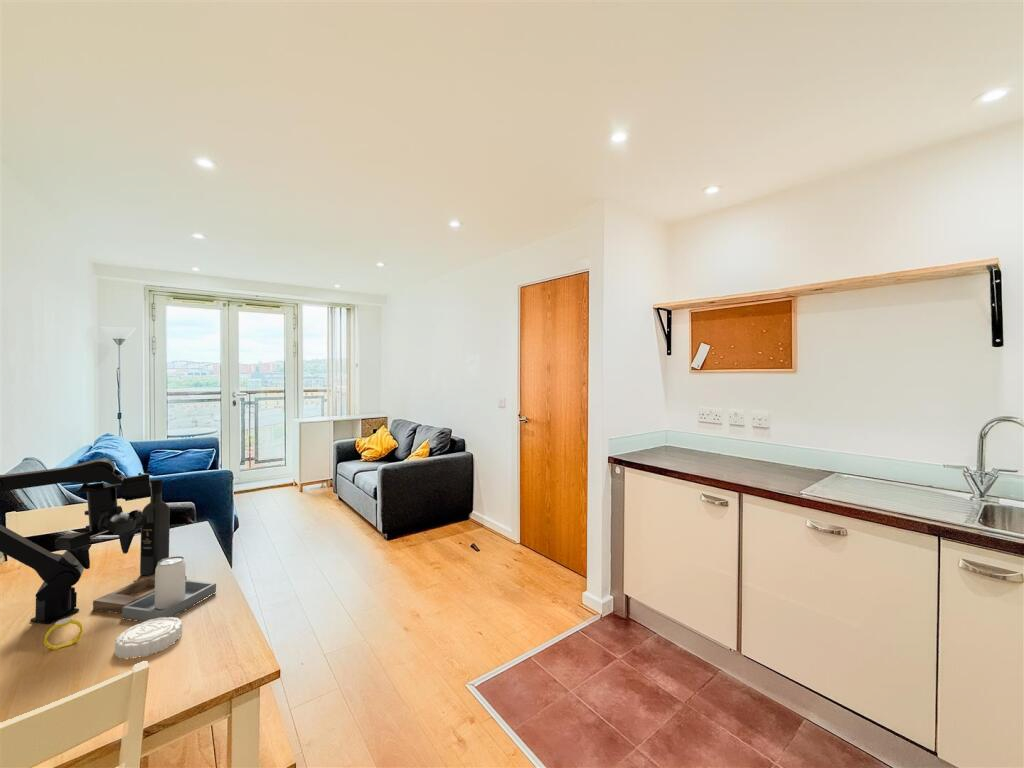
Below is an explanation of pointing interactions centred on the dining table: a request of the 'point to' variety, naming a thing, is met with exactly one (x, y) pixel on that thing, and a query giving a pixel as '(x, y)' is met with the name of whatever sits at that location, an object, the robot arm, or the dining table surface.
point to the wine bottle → (154, 531)
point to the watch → (61, 624)
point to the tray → (147, 610)
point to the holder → (124, 595)
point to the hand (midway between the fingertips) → (107, 560)
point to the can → (169, 582)
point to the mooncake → (148, 637)
